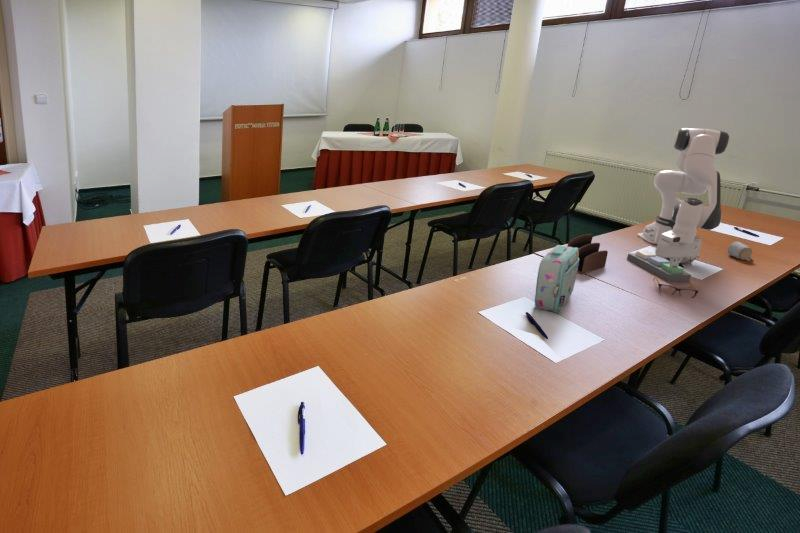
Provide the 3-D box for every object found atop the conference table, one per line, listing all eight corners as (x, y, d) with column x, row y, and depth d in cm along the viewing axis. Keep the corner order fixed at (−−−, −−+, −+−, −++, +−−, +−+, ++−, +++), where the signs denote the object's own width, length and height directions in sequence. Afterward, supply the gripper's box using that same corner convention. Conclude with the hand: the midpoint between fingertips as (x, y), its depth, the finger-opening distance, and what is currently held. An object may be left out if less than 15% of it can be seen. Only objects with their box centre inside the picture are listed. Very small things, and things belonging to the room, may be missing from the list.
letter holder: (561, 267, 209) (568, 238, 204) (585, 260, 221) (591, 231, 216) (581, 275, 202) (588, 244, 197) (605, 266, 214) (612, 237, 209)
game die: (683, 270, 228) (696, 253, 227) (692, 270, 219) (706, 253, 219) (668, 259, 228) (681, 242, 228) (677, 258, 220) (690, 241, 219)
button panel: (626, 258, 226) (628, 253, 225) (645, 258, 229) (647, 252, 227) (669, 281, 201) (671, 275, 200) (689, 281, 203) (691, 274, 202)
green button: (660, 270, 208) (662, 263, 207) (672, 269, 210) (674, 263, 209) (670, 275, 203) (672, 268, 202) (682, 274, 204) (684, 268, 203)
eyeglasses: (656, 293, 189) (659, 284, 188) (652, 280, 202) (655, 272, 201) (696, 300, 185) (699, 291, 184) (689, 287, 198) (692, 278, 196)
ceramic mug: (737, 260, 235) (743, 246, 233) (725, 254, 243) (730, 241, 240) (755, 261, 237) (761, 246, 234) (742, 255, 245) (748, 241, 242)
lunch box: (558, 320, 160) (571, 262, 152) (529, 312, 164) (539, 255, 156) (573, 294, 181) (585, 242, 174) (547, 287, 186) (557, 236, 178)
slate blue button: (647, 263, 216) (649, 257, 215) (658, 262, 217) (660, 256, 216) (656, 267, 211) (658, 261, 210) (668, 267, 212) (669, 261, 211)
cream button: (635, 256, 224) (636, 250, 223) (645, 256, 225) (647, 250, 224) (643, 261, 218) (645, 255, 217) (654, 260, 220) (656, 255, 219)
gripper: (696, 234, 205) (687, 263, 210) (657, 234, 201) (649, 264, 206) (708, 238, 200) (698, 268, 205) (668, 238, 195) (659, 269, 200)
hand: (673, 266), depth 205 cm, fingers closed
